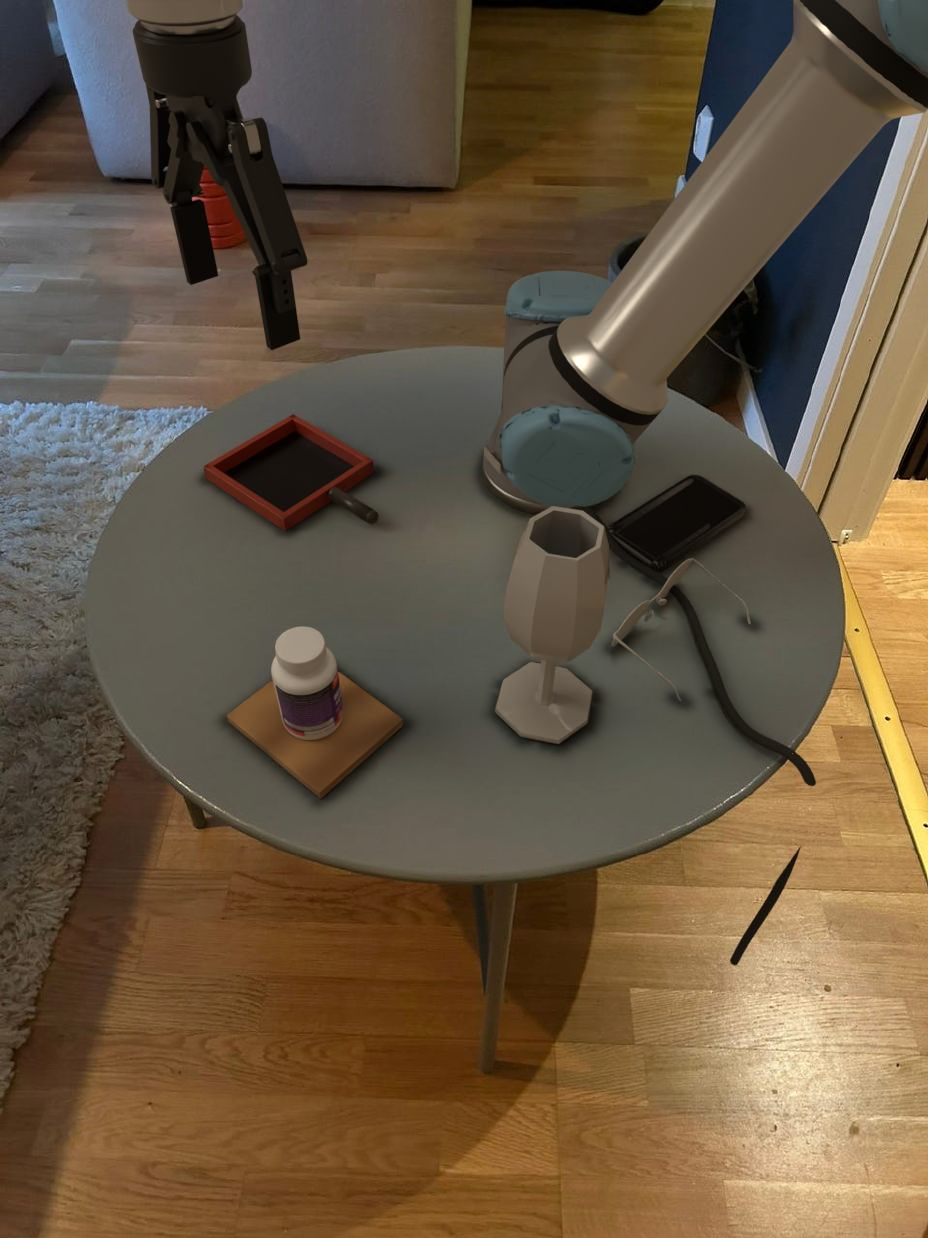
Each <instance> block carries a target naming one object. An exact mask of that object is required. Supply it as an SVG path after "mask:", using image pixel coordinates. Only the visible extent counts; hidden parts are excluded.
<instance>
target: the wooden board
mask: <svg viewBox="0 0 928 1238" xmlns="http://www.w3.org/2000/svg"><path fill="white" fill-rule="evenodd" d="M338 675H339V682H340V689H341V696H342V703H343V718H342V721H341V723H340V725H339V726H338V727H337V729H336V730H335V731H333V732H332V733H331V734H329V735H328V736H326V737H323V738H320V739H316V740H304V739H300V738H297V737H295V736H293V735H292V734H290V733H289V732H288V731H287V729H286V728H285V726H284V724H283V721H282V717H281V713H280V709H279V704H278V700H277V695H276V691H275V687H274V683H273V679H271V681H269V682H268V683H266V684H265V685H264V686H263V687H261V688H260V689H259V690H257V691H256V692H255V693H254V694H252V695H251V696H250V697H248V698H247V699H246V700H244V701H243V702H241V704H239V705H238V706H237V707H235V708H234V709H233V710H231V711H230V712H229V713H227V714H226V718H227V722H228V723H229V724H230V725H232V726H233V727H234V728H235V729H236V730H238V732H239V733H241V734H242V735H244V736H245V737H246V738H247V739H249V741H251V743H253V744H254V745H256V747H258V748H259V749H261V751H263V752H264V753H265V754H267V755H268V756H269V757H270V758H271V759H273V760H274V761H275V762H276V763H277V764H278V765H279V766H281V767H282V768H283V769H284V770H285V771H287V773H289V774H290V775H292V776H293V777H294V778H295V779H296V780H298V782H299V783H301V784H302V785H304V787H306V788H307V789H308V790H309V791H310V792H312V793H313V794H314V795H315V796H316V797H317V798H319V799H323V798H324V797H325V796H326V795H327V794H328V793H329V792H331V790H332V789H334V788H335V787H336V786H337V785H338V784H340V782H342V781H343V780H344V779H345V778H346V777H348V775H350V774H351V773H352V772H353V771H354V770H355V769H356V768H357V767H358V766H360V765H361V764H362V763H363V762H364V761H365V760H366V759H368V758H369V757H370V756H371V755H372V754H373V753H374V752H375V751H376V750H378V749H379V748H380V747H381V746H382V745H383V744H384V743H385V742H387V741H388V740H389V739H391V737H392V736H393V735H395V734H396V732H398V731H399V730H400V729H401V728H402V727H403V726H404V719H403V718H402V717H401V716H400V715H398V714H397V713H395V712H394V711H393V710H392V709H390V708H389V707H387V706H386V705H385V704H383V703H382V702H381V701H379V700H378V699H377V698H375V696H372V695H371V694H370V693H368V692H367V691H366V690H365V689H363V688H361V687H360V686H359V685H358V684H356V683H355V682H353V681H352V680H350V679H349V678H348V677H347V676H345V675H344V674H343V673H341V672H340V671H338Z"/></svg>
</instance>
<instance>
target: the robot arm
mask: <svg viewBox="0 0 928 1238" xmlns="http://www.w3.org/2000/svg"><path fill="white" fill-rule="evenodd" d="M125 2H126V6H127V10H128V14H130V15H131V16H132V17H133V18H135V19H136V20H137V21H136V22H135V24H134V27H133V28H132V36H133V41H134V46H135V49H136V53H137V54H136V55H137V57H138V62H139V67H140V71H141V76H142V80H143V81H144V84H145V88H146V94H147V99H148V104H149V136H150V138H149V139H150V176H151V183H152V185H153V186H154V187H155V189H156V190H159V189H162V195H163V198H164V200H165V201H166V203H167V204H168V205H171V207H169V208H170V213H171V218H172V221H173V222H172V223H173V227H174V229H175V235H176V240H177V243H178V248H179V251H180V257H181V262H182V266H183V270H184V276H185V280H186V283H187V284H189V285H190V286H192V285H193V286H194V285H196V284H199V283H202V282H204V281H208V280H211V279H214V278H217V277H219V271H218V267H217V266H218V265H217V261H216V256H215V251H214V245H213V241H212V236H211V231H210V226H209V221H208V215H207V212H206V206H205V201H203V200H202V199H201V198H198V199H195V200H193V198H196V197H200V196H203V195H205V192H204V190H203V188H202V185H201V180H202V176H203V173H204V170H205V167H206V169H207V171H208V173H209V175H210V177H211V180H212V181H213V183H214V184H215V185H217V186H220V187H221V188H222V189H223V190H224V192H225V194H226V198H227V199H228V201H229V203H230V206H231V207H232V210H233V212H234V214H235V217H236V218H237V221H238V223H239V226H240V227H241V229H242V232H243V233H244V236H245V238H246V240H247V242H248V244H249V247H250V248H251V252H252V253H253V255H254V257H255V259H256V262H257V264H258V265H257V266H256V267H254V268H253V270H252V271H251V273H252V274H253V276H254V279H255V284H256V291H257V296H258V302H259V309H260V314H261V315H260V316H261V321H262V327H263V332H264V339H265V344H266V347H267V349H269V350H270V351H274V350H277V349H279V348H282V347H285V346H287V345H290V344H292V343H295V342H297V341H300V340H301V334H300V333H301V332H300V325H299V317H298V309H297V303H296V296H295V290H294V282H293V275H292V271H294V270H297V269H299V268H303V267H306V266H307V265H308V257H307V254H306V251H305V250H306V249H305V248H304V244H303V242H302V239H301V235H300V233H299V229H298V226H297V223H296V221H295V218H294V214H293V212H292V209H291V206H290V203H289V200H288V197H287V194H286V192H285V191H286V190H285V188H284V185H283V182H282V179H281V176H280V173H279V171H278V167H277V164H276V162H275V158H274V155H273V151H272V146H271V141H270V135H269V130H268V125H267V123H266V121H265V119H264V118H263V117H261V116H260V117H256V118H253V119H248V120H247V119H244V117H243V116H244V115H243V113H242V111H241V108H240V103H239V100H238V94H239V92H240V90H241V89H242V87H244V86H245V85H247V84H248V83H249V82H250V80H251V78H252V74H253V69H252V62H251V55H250V54H251V53H250V48H249V40H248V35H247V29H246V27H247V26H246V23H245V22H244V21H243V20H242V18H241V17H240V16H239V15H238V14H239V12H240V11H241V10H242V9H243V8H244V5H243V0H125ZM792 3H793V4H792V5H793V9H792V10H793V13H792V14H793V15H792V16H793V17H792V18H793V20H792V21H793V27H792V29H793V30H792V36H791V40H790V42H789V43H788V45H787V46H786V48H785V49H784V50H783V51H782V53H781V54H780V55H779V57H778V58H777V60H776V61H775V62H774V64H773V65H772V66H771V67H770V69H768V72H767V73H766V74H765V75H764V77H763V79H762V80H761V81H760V82H759V84H758V85H757V87H756V88H755V89H754V91H753V92H752V93H751V95H750V96H749V97H748V99H747V100H746V101H745V103H744V104H743V105H742V107H741V108H740V109H739V111H738V112H737V113H736V115H735V116H734V118H733V119H732V120H731V122H730V123H729V124H728V126H727V127H726V128H725V130H724V131H723V133H722V134H721V135H720V136H719V138H718V139H717V141H716V142H715V143H714V145H713V146H712V147H711V149H709V152H708V153H707V154H706V156H705V157H704V158H703V160H702V161H701V162H700V164H698V166H697V167H696V169H695V171H694V172H693V173H692V175H690V177H689V178H688V180H687V182H686V183H685V184H684V185H683V187H682V188H681V190H680V191H679V192H678V193H677V195H676V196H675V197H674V199H673V200H672V201H671V203H670V204H669V206H668V207H667V209H666V210H665V211H664V212H663V214H662V215H661V217H660V218H659V219H658V220H657V222H656V223H655V225H654V226H653V228H652V229H651V230H650V232H649V233H648V234H647V236H646V237H645V238H644V239H643V241H642V242H641V244H640V245H639V246H638V248H637V249H636V250H635V252H634V253H633V255H632V256H631V257H630V259H628V262H627V263H625V265H624V267H623V268H622V269H621V271H620V272H619V273H618V275H617V276H616V277H615V279H614V280H613V281H610V280H609V279H607V278H604V277H601V276H598V275H595V274H592V273H587V272H581V271H573V270H549V271H541V272H536V273H533V274H529V275H526V276H523V277H521V278H520V279H517V280H516V281H514V283H513V284H512V285H511V286H510V288H509V289H508V292H507V295H506V305H505V307H504V309H503V313H504V315H505V323H504V324H505V325H504V344H503V367H502V386H501V387H502V388H501V390H502V391H501V408H500V409H501V410H500V414H499V416H498V419H497V421H496V423H495V425H494V428H493V430H492V431H491V434H490V436H489V438H488V441H487V444H486V446H483V457H482V459H483V460H482V477H483V480H484V483H485V484H486V487H487V488H488V489H489V492H491V493H492V495H494V496H495V497H496V498H498V500H500V501H502V503H504V504H506V505H508V506H510V507H512V508H515V509H517V510H519V511H523V512H527V513H529V514H534V515H537V514H539V513H541V512H543V511H544V510H546V509H548V508H550V507H552V506H556V507H562V508H569V509H575V510H582V511H584V512H585V513H587V514H588V515H589V516H591V517H592V518H593V519H595V520H596V521H597V522H599V523H600V524H601V525H603V526H604V528H605V532H606V536H607V540H608V544H609V550H611V551H612V552H613V553H614V555H616V557H618V558H619V559H620V560H621V561H623V562H624V563H625V564H627V565H628V566H629V567H631V568H632V569H634V570H635V571H637V572H639V573H641V574H642V575H644V576H646V577H647V578H649V579H651V580H652V581H654V582H656V583H658V584H659V585H660V586H662V587H663V586H664V585H665V583H666V582H667V580H668V579H669V578H667V577H666V576H665V575H663V574H661V572H657V571H655V570H653V569H651V568H650V567H648V566H646V565H644V564H643V563H641V562H639V561H638V560H636V559H635V558H633V557H632V556H630V555H629V554H628V553H627V552H626V551H624V550H623V549H622V548H621V547H620V546H619V545H618V543H617V542H616V541H615V539H614V538H613V536H612V535H611V534H610V532H609V530H608V529H609V528H608V527H607V525H606V524H605V523H604V521H603V520H602V519H601V517H600V516H599V515H598V514H597V512H596V511H595V510H594V508H593V507H595V506H597V505H599V504H600V503H602V502H604V501H606V500H608V499H610V498H613V496H614V495H616V494H617V493H619V491H621V489H623V488H624V486H625V485H627V483H628V482H629V479H630V477H631V475H632V472H633V469H634V465H635V464H636V463H635V462H636V455H637V454H636V448H635V445H634V444H635V443H636V441H637V440H638V439H639V438H640V437H641V436H642V434H643V433H644V432H645V431H646V430H647V428H648V427H650V425H651V424H652V423H653V422H654V421H655V419H657V417H658V416H659V415H660V414H661V413H662V411H664V409H665V408H666V406H667V404H668V402H669V392H668V391H669V390H668V382H667V381H668V380H667V379H668V377H670V375H671V374H672V373H673V372H674V370H675V369H676V368H677V367H678V366H679V365H680V363H681V362H682V361H683V360H684V359H685V358H686V356H687V355H688V354H689V353H690V352H691V351H692V349H693V348H694V347H695V346H696V345H697V344H698V342H699V341H700V340H701V339H702V338H703V337H704V335H705V334H706V333H707V332H708V331H709V329H711V327H712V326H713V325H714V324H715V323H716V322H717V320H719V318H720V317H721V316H722V315H723V314H724V313H725V311H726V310H727V309H728V308H729V306H731V304H732V303H733V302H734V301H735V300H736V299H737V297H738V296H739V295H740V293H742V292H743V290H744V289H745V288H746V286H747V285H749V283H750V282H751V281H752V280H753V279H754V278H755V276H756V275H757V274H758V273H759V272H760V270H761V269H762V268H763V267H764V266H765V264H767V262H768V261H769V260H770V258H772V256H773V255H774V254H775V253H776V252H777V251H778V249H780V247H781V246H782V245H783V244H784V243H785V242H786V240H787V239H788V238H789V237H790V235H791V234H793V232H794V231H795V230H796V228H797V227H799V225H800V224H801V223H802V222H803V220H804V219H805V218H806V217H807V216H808V214H809V213H810V212H811V211H812V210H813V208H815V206H816V205H817V204H818V203H819V202H820V201H821V199H822V198H823V197H824V196H825V195H826V194H827V193H828V191H830V189H831V188H832V187H833V185H834V184H835V183H836V182H837V181H838V179H840V178H841V176H842V175H843V174H844V173H845V171H847V169H848V168H849V167H850V166H851V164H852V163H853V162H854V161H855V160H856V159H857V158H858V156H859V155H860V154H861V153H862V152H863V151H864V149H865V148H866V147H867V146H868V144H870V142H872V140H873V139H874V138H875V136H876V135H878V133H879V132H880V131H881V130H882V129H883V127H884V126H885V125H886V124H888V123H889V122H890V121H892V120H894V119H899V118H903V117H908V116H913V115H918V114H923V113H926V112H927V111H928V0H793V1H792ZM165 168H167V169H165ZM164 169H165V170H164ZM669 594H671V595H672V596H673V597H674V598H675V600H676V601H677V603H678V604H679V605H680V606H681V608H682V610H683V612H684V613H685V616H686V617H687V620H688V623H689V625H690V628H691V632H692V634H693V638H694V639H695V640H694V641H695V643H696V646H697V649H698V652H699V653H700V656H701V658H702V660H703V662H704V665H705V668H706V670H707V673H708V675H709V678H710V682H711V684H712V687H713V690H714V693H715V695H716V698H717V700H718V703H719V705H720V706H721V709H722V710H723V711H724V712H723V713H725V715H726V716H727V718H728V719H729V721H730V722H731V723H732V725H733V726H734V727H735V728H736V729H737V730H738V731H739V733H741V734H742V735H743V736H745V737H746V738H747V739H749V740H750V741H752V742H754V743H755V744H757V745H759V746H761V747H762V748H764V749H767V750H769V751H771V752H773V753H775V754H778V755H780V756H781V757H783V758H785V759H786V760H788V761H789V762H790V763H791V764H793V766H794V767H795V768H796V769H797V771H798V772H799V774H800V776H801V777H802V780H803V781H804V783H805V784H806V785H807V786H809V787H815V786H816V784H817V781H816V778H815V774H814V772H813V771H812V769H811V766H810V765H809V764H808V763H807V761H806V760H805V759H804V757H802V756H801V755H800V754H799V753H798V752H796V750H794V749H792V748H790V747H789V746H787V745H786V744H783V743H781V742H779V741H777V740H774V739H772V738H771V737H768V736H766V735H764V734H762V733H760V732H758V731H757V730H755V729H754V728H752V727H751V726H750V725H749V724H748V723H747V722H746V721H745V720H744V718H743V717H742V716H741V715H740V713H739V712H738V710H736V708H735V706H734V704H733V703H732V701H731V699H730V697H729V694H728V693H727V689H726V687H725V684H724V681H723V679H722V676H721V673H720V670H719V668H718V665H717V662H716V660H715V658H714V656H713V653H712V651H711V649H710V646H709V644H708V641H707V638H706V636H705V632H704V631H703V626H702V624H701V621H700V619H699V616H698V614H697V612H696V610H695V608H694V606H693V604H692V603H691V601H690V599H688V597H687V595H685V592H683V591H682V590H681V589H680V588H679V587H678V586H677V584H676V585H675V584H674V585H673V586H672V587H671V589H670V590H669ZM792 753H793V754H792ZM798 847H799V848H798V849H797V850H796V851H795V853H794V855H793V856H792V858H791V859H790V860H789V862H788V863H787V865H786V866H785V867H784V869H783V870H782V872H781V873H780V875H779V876H778V878H777V879H776V880H775V882H774V884H773V886H772V888H771V890H770V891H769V893H768V895H767V897H766V899H765V900H764V902H763V903H762V905H761V907H760V908H759V910H758V911H757V913H756V915H755V916H754V917H753V919H752V921H751V922H750V924H749V925H748V927H747V928H746V930H745V931H744V934H742V936H741V938H740V940H739V942H738V943H737V946H736V947H735V949H734V951H733V953H732V955H731V957H730V959H729V962H730V964H731V965H732V966H737V965H739V962H740V961H741V960H742V957H743V955H744V953H745V952H746V951H747V948H748V946H749V945H750V944H751V942H752V940H753V939H754V937H755V936H756V934H757V933H758V931H759V930H760V928H761V927H762V926H763V924H764V923H765V920H766V919H767V918H768V916H769V914H770V913H771V912H772V910H773V909H774V907H775V905H776V903H777V902H778V900H779V898H780V896H781V895H782V893H783V891H784V890H785V887H786V885H787V883H788V881H789V879H790V877H791V874H792V872H793V869H794V867H795V864H796V862H797V859H798V857H799V854H800V851H801V848H802V845H799V846H798Z"/></svg>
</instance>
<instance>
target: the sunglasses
mask: <svg viewBox="0 0 928 1238" xmlns="http://www.w3.org/2000/svg"><path fill="white" fill-rule="evenodd" d="M692 562H694V563H695V564H696V565H698V566H699V567H700V568H701V569H702V570H704V571H705V572H706V573H708V574H709V575H710V576H711V577H712V578H713V579H715V580H716V581H717V582H719V583H720V584H721V585H722V586H723V587H724V588H725V589H727V590H728V591H729V592H731V593H732V595H733V596H734V597H736V598H737V599H738V600H739V601H740V602H741V603H742V604H743V606H744V607H745V611H746V618H747V624H748V625H752V623H751V617H750V612H749V609H748V605H747V603H746V602H745V601H744V599H742V598H741V597H740V596H739V595H737V593H735V592H734V591H732V590H731V589H730V588H729V587H728V586H726V585H725V584H724V583H723V582H722V581H721V580H719V578H717V577H716V576H715V575H714V574H713V573H712V572H710V570H709V569H707V568H706V567H705V566H704V565H702V564H701V562H699V561H698V560H697V559H695V558H693V557H691V558H687V559H685V560H684V561H683V562H682V563H680V564H679V566H677V567H676V568H675V570H674V571H673V572H672V573H671V575H669V577H668V578H667V579H668V580H667V582H666V583H665V585H664V586H662V588H661V590H659V592H658V593H657V594H656V595H655V596H653V597H652V599H650V600H643V601H642V602H641V603H640V604H638V605H637V606H636V607H635V608H634V609H632V610H631V612H630V613H629V614H628V615H627V617H626V618H625V619H624V621H623V622H622V624H621V625H620V626H619V628H618V629H617V630H616V631H615V632H614V633H613V635H612V637H613V639H612V641H611V647H612V648H613V647H615V646H617V645H618V644H620V645H621V646H623V647H624V648H626V649H627V650H628V651H629V652H631V653H632V654H633V655H634V656H635V657H637V658H638V659H639V660H641V661H642V662H643V663H645V664H646V665H648V667H650V668H651V669H652V670H653V671H655V672H656V673H657V674H658V675H659V676H660V677H661V678H662V679H663V680H665V681H666V682H668V683H669V684H670V686H672V688H673V689H674V692H675V695H676V697H677V699H678V701H680V702H682V699H681V698H680V697H681V696H680V695H679V692H678V690H677V688H676V686H675V685H674V684H673V683H672V681H670V679H668V678H667V677H666V676H664V675H663V674H662V673H661V672H660V671H658V670H656V669H655V668H654V667H653V666H652V665H651V664H650V663H648V662H647V661H646V660H644V658H642V657H641V656H640V655H639V654H637V653H636V652H635V651H634V650H633V649H632V648H630V647H629V646H628V645H627V644H626V643H624V641H622V640H623V639H624V638H625V637H626V635H627V634H629V632H631V630H632V629H633V628H634V627H635V626H636V624H637V623H638V622H639V620H640V619H641V618H642V617H643V616H644V615H645V614H646V615H645V617H644V619H643V620H644V622H649V621H650V619H651V618H652V617H653V615H654V609H652V608H651V609H650V610H649V609H648V608H649V606H650V605H651V603H652V602H653V601H654V600H655V603H657V604H658V606H665V605H666V604H667V599H665V597H667V596H668V595H669V594H670V592H669V590H670V589H671V587H672V586H673V585H674V584H675V585H676V586H677V584H678V583H679V582H680V580H681V579H682V578H683V576H684V574H685V573H686V572H687V570H688V568H689V567H690V565H691V563H692Z"/></svg>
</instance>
